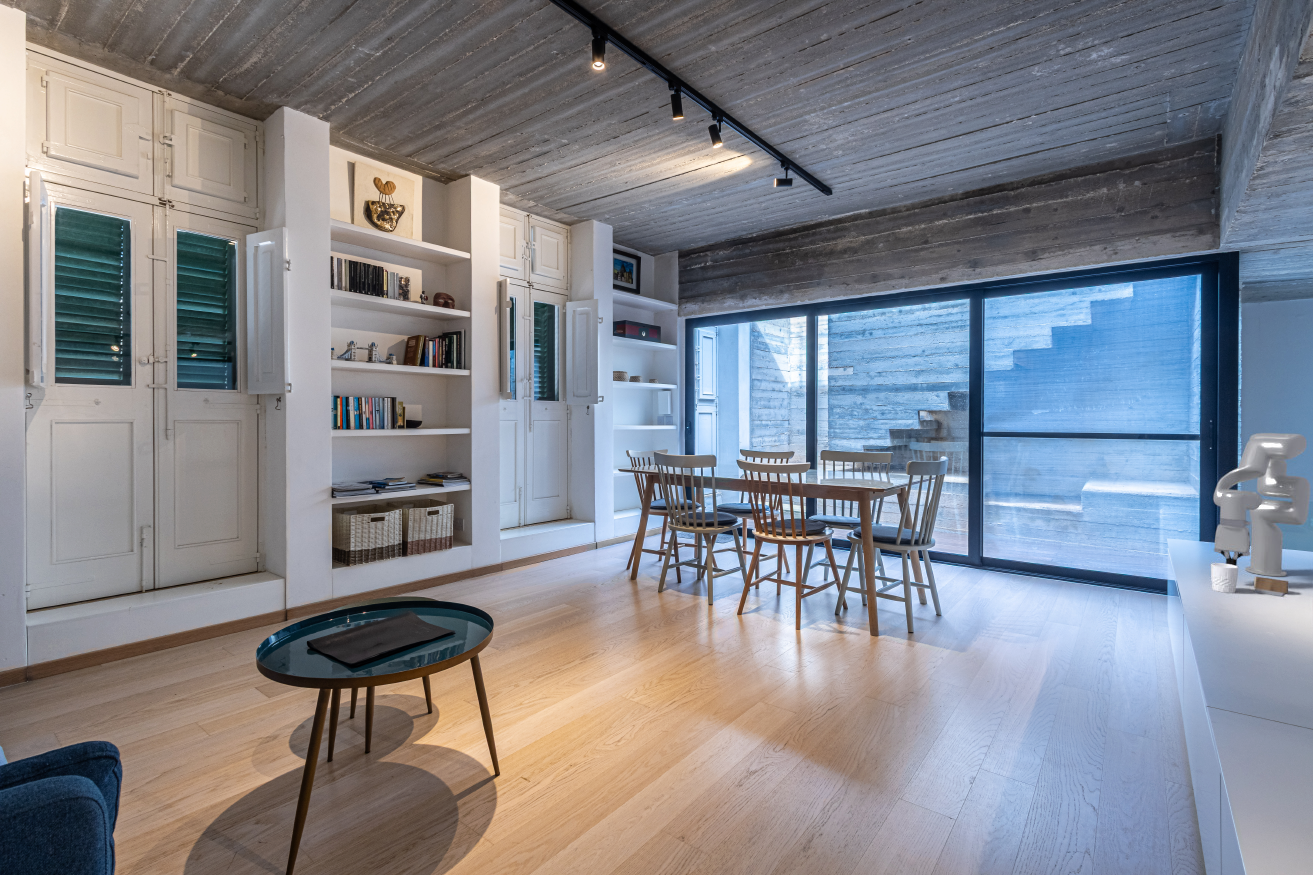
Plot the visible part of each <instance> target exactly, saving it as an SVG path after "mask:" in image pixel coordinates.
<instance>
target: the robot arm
mask: <svg viewBox="0 0 1313 875" xmlns="http://www.w3.org/2000/svg"><path fill="white" fill-rule="evenodd" d="M1307 444H1308V442H1307V439H1306V437H1305V436H1304V435H1302V434H1298V433H1277V432H1275V433H1274V432H1259V433H1255V434H1252V435H1251V436H1250V437H1249V440H1248V441H1247V443H1246V445H1245V447H1244V451H1243V453H1242V456H1241V459H1240V461H1239V464H1238V467H1237V468H1234V469H1233V470H1231V471H1229V472H1228V473H1226V474H1225V475H1224V476H1222V477H1221V478H1220V479H1219V480H1218V482H1217V484H1216V487H1215V490H1214V493H1213V502H1214V504H1215V505H1216V506H1218V507H1220V513H1219V514H1220V515H1219V524H1217V527H1216V531H1215V538H1214V548H1213V552H1215V553H1218V554H1221V555H1222V556H1223V557H1224V558H1225V564H1231V565H1235V566H1238V565H1237V562H1238V559H1239V558H1241V557H1249V556H1250V566H1246V567H1245V571H1246V572H1248V573H1252V574H1256V575H1261V576H1267V577H1268V576H1269V577H1286V576H1287V572H1286V571H1285V570H1282V565H1283V564H1282V562H1283V539H1284V536H1283V532H1282V529H1281V528H1280V527H1279V526H1278V525H1277V524H1282V525H1291V526H1292V525H1293V526H1302V525H1304V524H1305V523H1306V522H1307V519H1308V516H1309V506H1310V498H1311V497H1310V496H1311V484H1310V482H1309V480H1308V479H1307V478H1306V477H1303V476H1298V475H1287V470H1288V468H1287V467H1288V464H1287V461H1286V460H1292V459H1294V458H1296V457H1298V456H1299V455H1301V454H1303V453H1304V452H1305V450H1306V448H1307ZM1256 479H1257V482H1256V491H1257V492H1255V491H1248V490H1240V489H1231V488H1232V487H1233V486H1235V485H1237V484H1240V483H1243V482H1247V481H1251V480H1256ZM1262 496H1264V497H1265V496H1266V497H1271V498H1281V499H1283V498H1284V499H1290V500H1291V501H1287V500H1286V501H1285V500H1276V499H1265V498H1263V499H1262ZM1247 511H1249V515H1250V521H1247V517H1246V516H1247ZM1247 526H1251V536H1250V529H1249V527H1247ZM1250 538H1251V540H1250ZM1230 552H1233V556H1231V554H1230Z"/></svg>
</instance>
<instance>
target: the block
mask: <svg viewBox="0 0 1313 875" xmlns="http://www.w3.org/2000/svg"><path fill="white" fill-rule="evenodd" d="M1253 588H1254V589H1255V590H1256V589H1261V590H1268V591H1274V592H1280V593H1284V594H1288V592H1289V581H1288V580H1282V579H1276V578H1269V577H1263V576H1255V577H1254V580H1253Z"/></svg>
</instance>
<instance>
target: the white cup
mask: <svg viewBox="0 0 1313 875" xmlns="http://www.w3.org/2000/svg"><path fill="white" fill-rule="evenodd" d="M1238 572H1239V566H1238V565H1237V566H1235V565H1231V564H1226V563H1223V562H1222V563H1221V562H1219V563H1218V562H1213V563H1211V564H1210V576H1211V577H1210V580H1211V589H1212V590H1213V591H1215V592H1218V593H1219V592H1220V593H1224V594H1225V593H1227V594H1235V593H1236V587H1237V582H1238Z"/></svg>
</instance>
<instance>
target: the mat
mask: <svg viewBox="0 0 1313 875" xmlns="http://www.w3.org/2000/svg"><path fill="white" fill-rule="evenodd" d="M1254 593H1255V594H1264V595H1271V596H1277V597H1283V596H1284V595H1285V593H1280V592H1274V591H1268V590H1261V589H1255V590H1254Z"/></svg>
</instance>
